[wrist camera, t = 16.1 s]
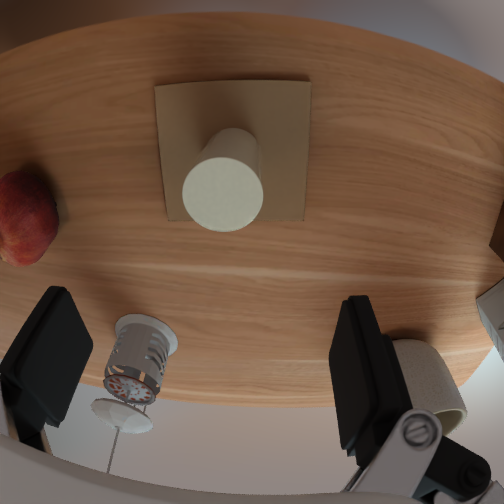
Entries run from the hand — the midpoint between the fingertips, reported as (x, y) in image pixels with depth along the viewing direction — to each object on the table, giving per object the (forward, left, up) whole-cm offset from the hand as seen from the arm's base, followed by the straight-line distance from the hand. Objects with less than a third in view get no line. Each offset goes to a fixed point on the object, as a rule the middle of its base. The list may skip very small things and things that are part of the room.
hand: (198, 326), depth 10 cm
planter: (+32, +24, -22) cm, 46 cm away
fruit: (+4, -24, -22) cm, 33 cm away
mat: (0, 0, -22) cm, 22 cm away
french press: (+27, -14, -22) cm, 38 cm away
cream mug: (0, 0, -21) cm, 21 cm away
